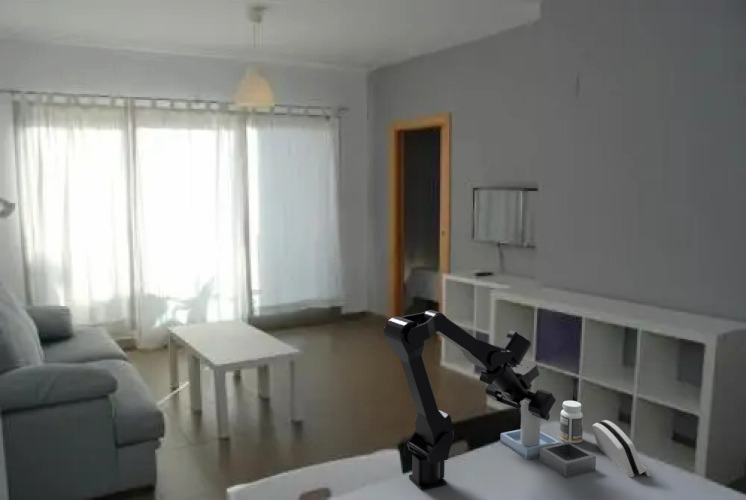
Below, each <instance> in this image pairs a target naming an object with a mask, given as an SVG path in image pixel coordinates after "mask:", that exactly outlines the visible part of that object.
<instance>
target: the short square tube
mask: <svg viewBox="0 0 746 500" xmlns="http://www.w3.org/2000/svg"><path fill="white" fill-rule="evenodd" d="M596 456H597V455H594V454H593V453H591V452H588V451H587V450H585V449H584V448H581V447H579V446H578V445H576V444H575V443H570V442H565V441H563V442H561V443H560V444H556V445H551V446H547V447H542V448H540V456H539V463H541V464H542V465H544V466H546V467H547V468H548V469H550V470H552V471H554V472H555V473H557V474H559V475H560V476H562V477H563V478H564V479H569V478H573V477H576V476H580V475H584V474H588V473H593V472H596V470H597V469H596V466H597V465H596V464H597V463H596V462H597V457H596ZM567 458H568V459H569V460H566V459H567Z"/></svg>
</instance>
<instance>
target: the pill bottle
mask: <svg viewBox="0 0 746 500" xmlns="http://www.w3.org/2000/svg"><path fill="white" fill-rule="evenodd" d="M562 408H563V409H561V411H560V415H559V416H560V422H559V423H560V425H559V438H560V440H561V441H563V442H570V443H572V444H579V443H581V442H582V441H583V434H584V433H583V431H584V428H583V426H584V425H583V424H584V414H583V412H582V411H581V410H582V403H580V402H579V401H576V400H564V401H563V402H562Z"/></svg>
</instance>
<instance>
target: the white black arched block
mask: <svg viewBox="0 0 746 500" xmlns="http://www.w3.org/2000/svg"><path fill="white" fill-rule="evenodd" d="M591 428H592V431H593V434H594V438H595V442H596V444H597V447H598V449H599V450H600V451H602V452H603V454H605V455H606V456H607V457H608V458H609V459H610V460H611V461H612V462H613V463H614V464H615V465H616V466H617V467H618V468H619V469H620V470H621V471H622V472H623V473H625V475H626V476H627V477H628V478H633V477H635V474H639V475H641V474H643V473H644V474H645V475H646V476H647V477H650V476H651V475H650V472H649V469H648V468H647V467H646V466H645V465H643V464H642V462H641V460H640V458H639V456H638V452H637V449H636V447H635V445H634V443H633V442H632V440H631V439H630V438H629V436H627V435H626V433H625V432H624V431H623V429H621V428H620V427H619V426H618V425H616V424H615V423H614V422H612V421H610V420H607V419H604V420H600V422H595V423H594V424H592V426H591Z"/></svg>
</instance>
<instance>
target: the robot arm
mask: <svg viewBox="0 0 746 500" xmlns="http://www.w3.org/2000/svg"><path fill="white" fill-rule="evenodd" d="M383 333H384V337H385V339H386V341H387V343H388V345H389V346H390V349H392V351H393V352H394V353H395V354H396V356H397V357H398V359H399V360H400V363H401V365H402V366H401V367H402V369H403V372H404V377H405V379H406V383H407V385H408V388H409V392H410V395H411V398H412V400H413V404H414V407H415V411H416V413H417V414H416V417H415V420H414V421H415V422H414V426H415V430H414V432H413V433H412V434H411V436H410V438H409V439H408V441H407V442H406V445H407V448H408V451H410V452H412V453H413V454H412V456H411V457H412V467H411V474H408V478H409V480H410V481H412V482H413V483H414V484H415V485H416V487H417V486H418V488H419V489H420V490H421V491H422V490H423V491H424V490H428V489H432V488H437V487H440V486H445V485H447V480H446V479H445V464H446V463H445V462H446V461H448V458H449V455H450V451H451V448H452V445H453V441H454V438H455V433H454V432H456V428H454V426H453V422H452V417H451V415H450V414H448V413H446V412H445V411H442V410H440V409H439V408H438V407H439V406H438V404H437V401H436V400H437V399H436V398H435V393H434V390H433V387H432V384H431V381H430V377H429V375H428V371H427V368H426V365H425V361H424V358H423V351H424V347H425V341H426V340H429V339H431V338H432V337H433V336H434V335H435V334H437V335H439V336H440V337H442V338H443V339H444V340H446V341H447V342H449V343H451V344H452V345H453V346H455V347H456V348H458V349H459V350H460V351H461V352H462V355H463V356H464V357H465V358H466V360H468V361H469V362H470V363H471V364H472V365H474V366H478V367H480V368H482V369H483V370H481V372H480V375H479V382H482V383H484V384H487V386H486V387H485V395H486V396H487V397H488V398H490V399H491V400H492V399H493V400H494V401H496V402H499V403H501V404H505V405H507V406H509V407H512V408H515V409H517V410H521V405H522V403H521V402H522V400H526V401H529V402H530V403H529V405H528V411H529V412H530V413H532V415H534V416H536V417H539V418H540V419H542V420H546V421H549V419H550V411H551V409H552V408H553V405H554V404H555V403H556V401H557V399H556V398H557V397H555V395H554V394H553V393H552V392H551V391H550V392H549V391H547V390H544V389H537V390H536V392H532V391H529V390H531V388H532V386H533V385H532V382H533V381H534V380H535V379H536V378H537V377H539V376H540V370H539V368H538V365H537V362H534V361H531V360H527V359H525V357H526V355H527V354H528V352H529V351H530V349H531V348H532V345H533V344H532V342H531V341H530V340H529V339H527V338H525V337H524V336H523V335H521V334H519V333H518V332H517V331H516V330H512V329H510V330H509V331H508V332H507V334H506V337H505V338H504V339H503V341H502V342H501V344H500V345H499V346H498V345H494V344H491V343H488V342H486V341H483V340H480V339H479V338H476V337H475V336H473V335H472V334H470V333H469V332H467V331H466V330H465V329H463V328H462V327H461V326H459V325H458V324H456V323H455V322H454V321H452V320H451V319H449V317H446V315H445V314H444V313H442V312H439V311H437V310H432V309H428V310H425V311H423V312H419V313H413V314H407V315H403V316H394V317H391V318H390V319H388V321H387V322H386V324H385V326H384V327H383Z"/></svg>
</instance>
